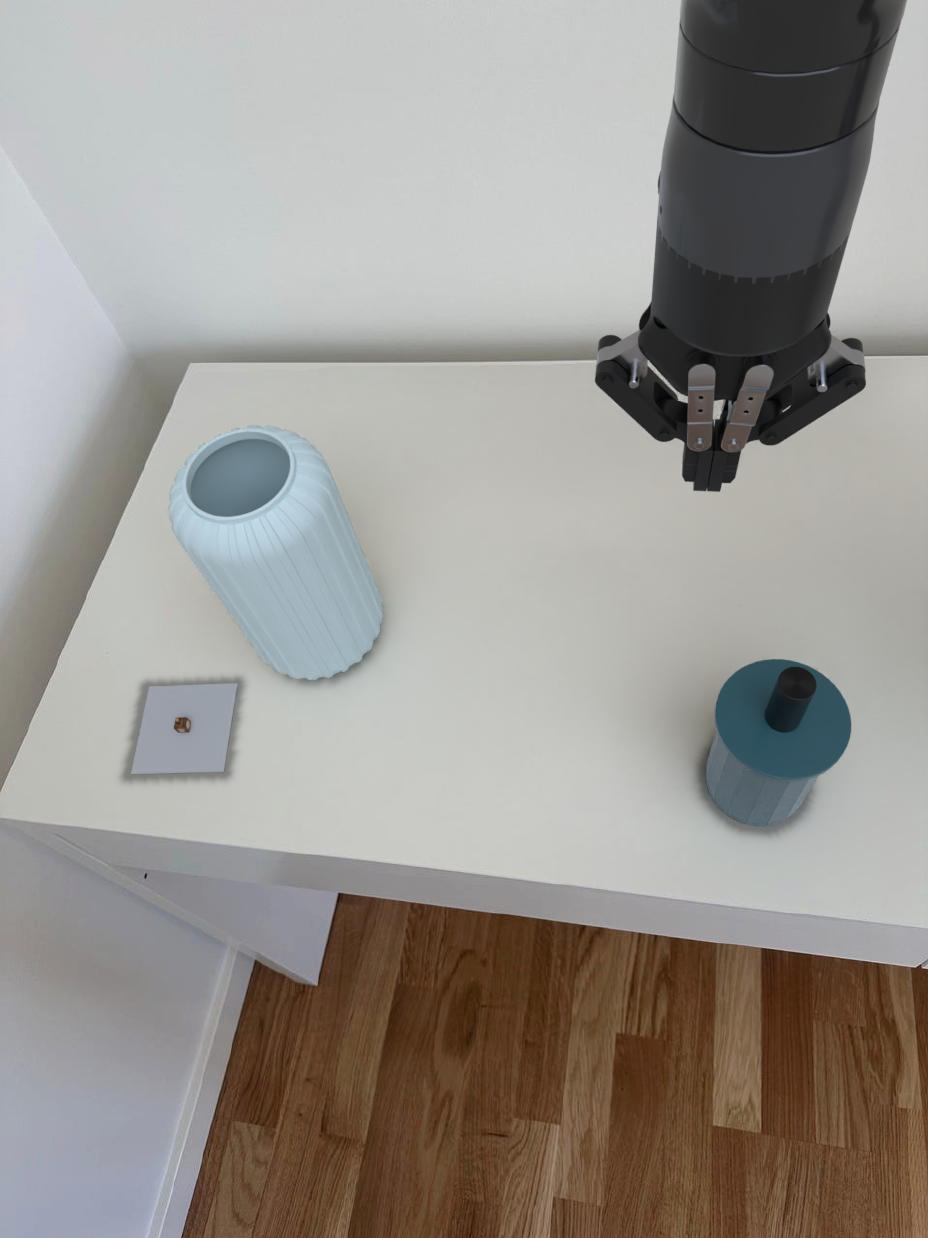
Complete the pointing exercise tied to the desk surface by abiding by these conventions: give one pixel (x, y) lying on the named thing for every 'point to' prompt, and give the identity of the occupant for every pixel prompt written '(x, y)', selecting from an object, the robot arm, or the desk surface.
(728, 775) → the pot
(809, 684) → the lid
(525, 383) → the desk surface
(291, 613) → the vase
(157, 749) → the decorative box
